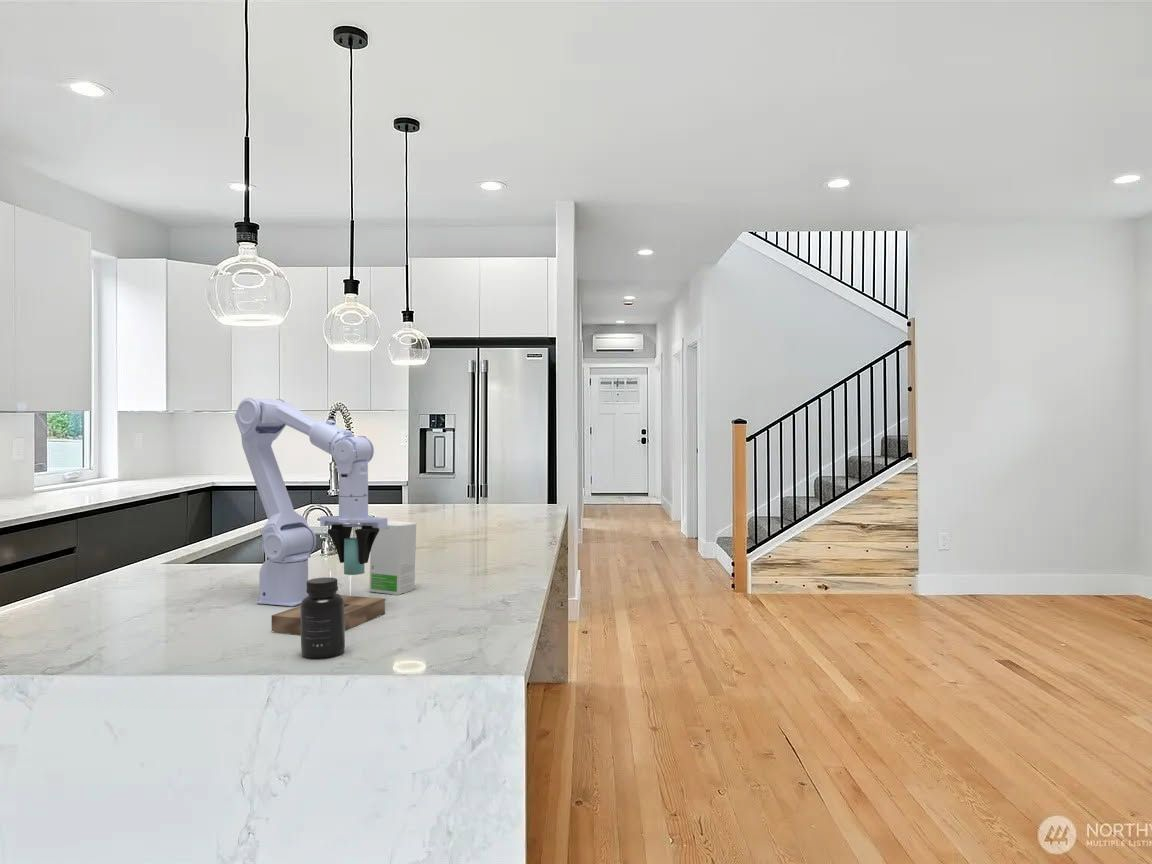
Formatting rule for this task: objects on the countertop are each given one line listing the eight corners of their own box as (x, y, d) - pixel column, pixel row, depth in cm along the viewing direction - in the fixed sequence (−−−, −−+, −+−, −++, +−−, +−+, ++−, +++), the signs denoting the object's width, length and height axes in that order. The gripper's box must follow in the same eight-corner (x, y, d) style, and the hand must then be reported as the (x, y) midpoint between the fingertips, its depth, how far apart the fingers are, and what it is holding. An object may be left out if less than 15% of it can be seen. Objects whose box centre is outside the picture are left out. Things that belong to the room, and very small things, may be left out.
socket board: (271, 632, 136) (271, 615, 136) (333, 609, 153) (333, 594, 153) (327, 637, 132) (327, 620, 132) (384, 613, 149) (384, 598, 149)
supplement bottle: (307, 647, 126) (306, 576, 126) (348, 646, 127) (348, 575, 127) (295, 660, 119) (295, 584, 119) (339, 659, 120) (339, 583, 120)
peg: (339, 574, 152) (340, 539, 152) (351, 571, 156) (351, 537, 156) (357, 575, 151) (357, 540, 151) (368, 571, 155) (368, 537, 155)
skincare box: (368, 592, 169) (368, 523, 169) (386, 586, 175) (386, 519, 175) (400, 595, 166) (399, 524, 166) (417, 589, 172) (416, 521, 172)
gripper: (310, 496, 152) (311, 564, 152) (373, 498, 147) (374, 567, 147) (331, 493, 158) (332, 558, 158) (392, 495, 154) (393, 561, 154)
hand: (353, 562), depth 153 cm, fingers closed on peg, 4 cm apart
